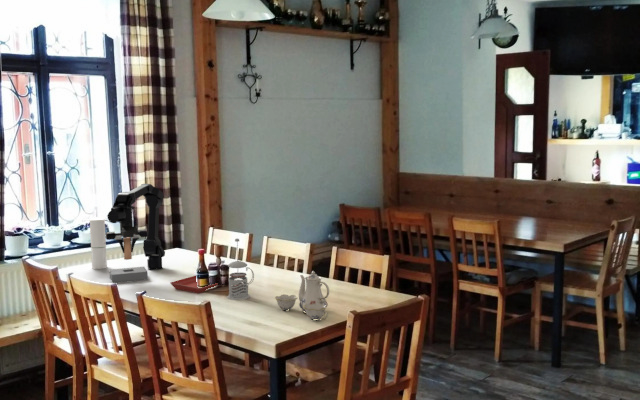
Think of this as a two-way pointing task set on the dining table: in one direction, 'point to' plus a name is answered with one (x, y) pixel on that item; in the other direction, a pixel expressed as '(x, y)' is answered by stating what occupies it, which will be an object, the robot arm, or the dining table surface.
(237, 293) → the french press
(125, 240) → the peg
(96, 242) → the cylindrical container
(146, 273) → the socket block
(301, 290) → the chinaware
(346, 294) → the dining table surface
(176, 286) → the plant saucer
